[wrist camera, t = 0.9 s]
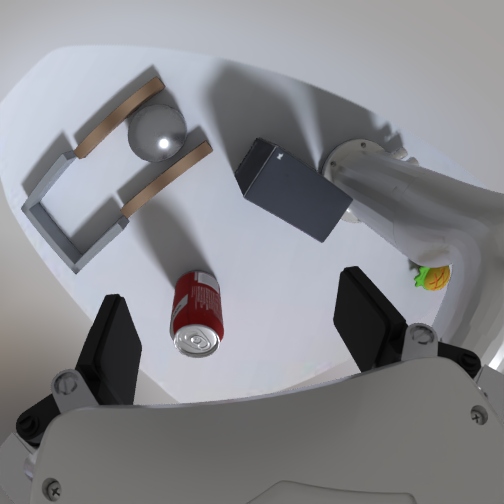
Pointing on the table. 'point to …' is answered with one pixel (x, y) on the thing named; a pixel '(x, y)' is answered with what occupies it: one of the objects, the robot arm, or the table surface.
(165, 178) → the walnut slot
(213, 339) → the soda can
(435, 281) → the toy pineapple
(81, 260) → the grey u-shaped frame
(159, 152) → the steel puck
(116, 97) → the table surface
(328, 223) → the small box
